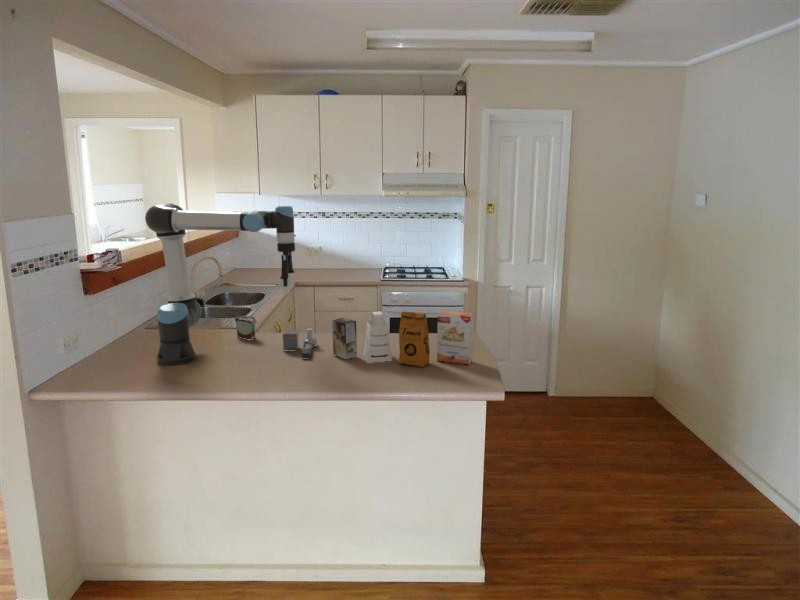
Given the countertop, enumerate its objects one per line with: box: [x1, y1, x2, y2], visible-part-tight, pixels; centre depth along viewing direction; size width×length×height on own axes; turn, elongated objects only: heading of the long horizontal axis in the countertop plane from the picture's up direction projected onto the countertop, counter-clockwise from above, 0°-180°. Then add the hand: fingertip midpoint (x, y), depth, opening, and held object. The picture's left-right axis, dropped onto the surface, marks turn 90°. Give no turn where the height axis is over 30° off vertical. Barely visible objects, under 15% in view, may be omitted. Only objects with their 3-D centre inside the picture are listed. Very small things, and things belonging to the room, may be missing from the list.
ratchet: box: [301, 327, 318, 359], centre depth 247 cm, size 22×6×8 cm, turn 4°
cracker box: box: [436, 310, 474, 366], centre depth 231 cm, size 14×6×21 cm, turn 68°
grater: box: [363, 310, 393, 364], centre depth 235 cm, size 10×10×20 cm
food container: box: [234, 315, 258, 341], centre depth 268 cm, size 12×6×10 cm, turn 58°
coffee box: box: [331, 317, 358, 360], centre depth 238 cm, size 9×6×16 cm
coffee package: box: [398, 311, 431, 368], centre depth 228 cm, size 10×12×22 cm
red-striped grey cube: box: [282, 329, 300, 351], centre depth 250 cm, size 6×6×8 cm
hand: (288, 290), depth 245 cm, fingers open, 13 cm apart
